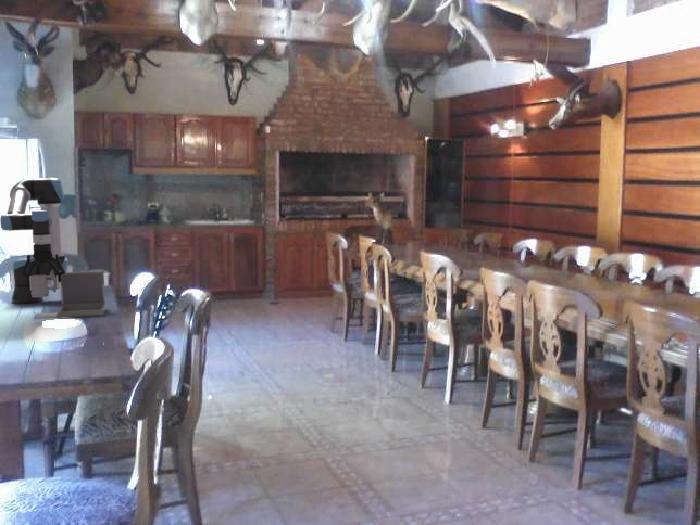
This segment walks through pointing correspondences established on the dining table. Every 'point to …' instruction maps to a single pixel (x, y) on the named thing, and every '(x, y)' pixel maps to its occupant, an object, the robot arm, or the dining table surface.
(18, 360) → the dining table surface
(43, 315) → the trivet
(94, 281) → the case
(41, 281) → the mug
